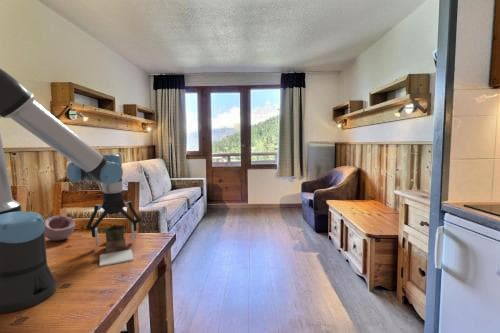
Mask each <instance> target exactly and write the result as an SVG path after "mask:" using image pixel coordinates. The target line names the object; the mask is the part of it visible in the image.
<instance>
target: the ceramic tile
mask: <svg viewBox="0 0 500 333" xmlns="http://www.w3.org/2000/svg"><path fill="white" fill-rule="evenodd" d="M132 250H133V249H126V250H122V251H117V252H111V253H102V254H100V255H99V267H105V266H111V265H116V264H121V263H126V262H132V261H134V260H135V259H134V254H133V251H132Z"/></svg>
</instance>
